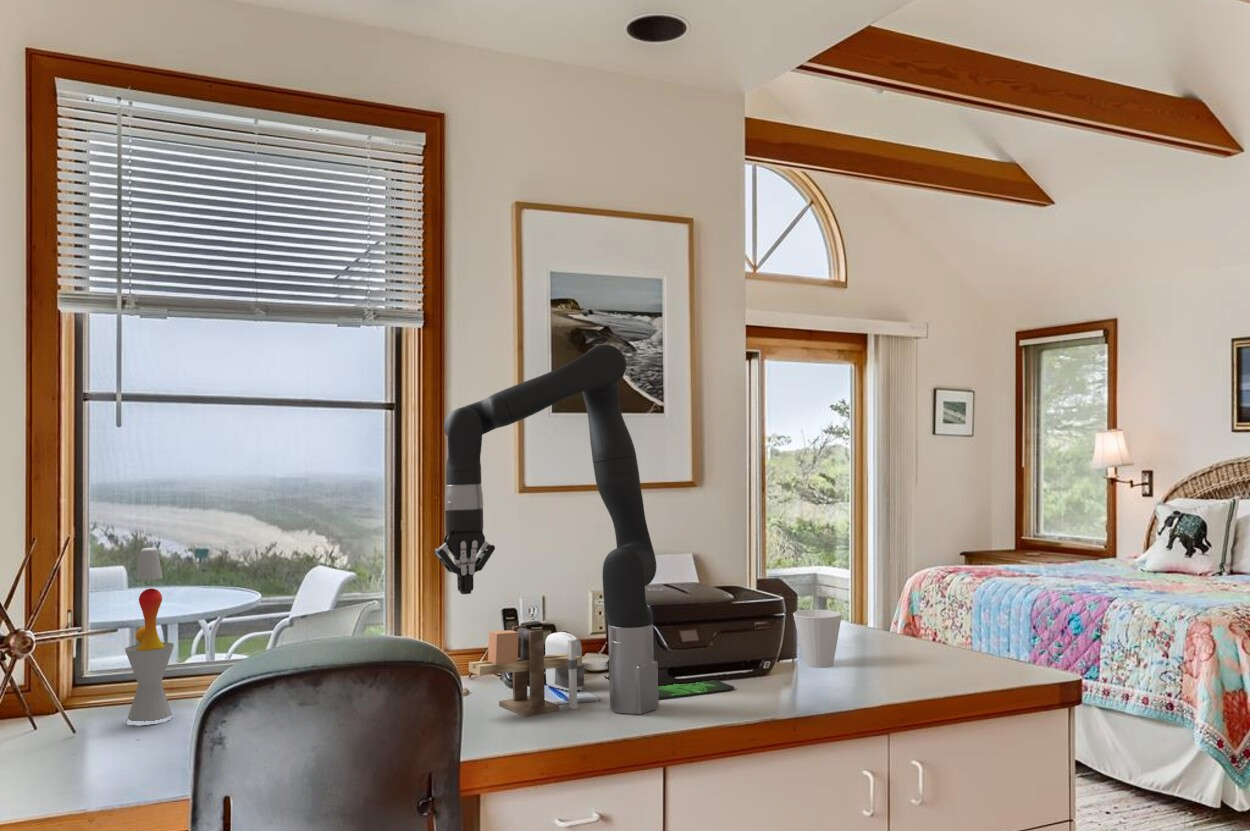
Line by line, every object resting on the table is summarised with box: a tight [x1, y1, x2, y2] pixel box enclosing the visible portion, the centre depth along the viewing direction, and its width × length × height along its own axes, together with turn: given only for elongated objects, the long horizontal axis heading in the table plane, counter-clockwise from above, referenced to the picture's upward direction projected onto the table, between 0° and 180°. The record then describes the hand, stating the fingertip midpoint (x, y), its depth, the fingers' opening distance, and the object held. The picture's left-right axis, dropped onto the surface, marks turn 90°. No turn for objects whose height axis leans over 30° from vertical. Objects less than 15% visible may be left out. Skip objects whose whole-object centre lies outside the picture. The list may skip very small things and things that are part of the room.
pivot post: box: [498, 624, 560, 717], centre depth 205 cm, size 8×11×16 cm
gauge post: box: [567, 639, 578, 710], centre depth 204 cm, size 2×2×14 cm
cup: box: [792, 609, 843, 669], centre depth 240 cm, size 12×12×12 cm
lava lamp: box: [124, 547, 175, 722], centre depth 202 cm, size 9×9×35 cm
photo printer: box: [544, 631, 584, 692], centre depth 222 cm, size 10×4×12 cm, turn 39°
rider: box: [487, 629, 519, 664], centre depth 202 cm, size 5×3×7 cm
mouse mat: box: [603, 675, 735, 701], centre depth 224 cm, size 27×22×1 cm
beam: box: [468, 627, 585, 688], centre depth 205 cm, size 25×6×12 cm, turn 125°
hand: (465, 593), depth 198 cm, fingers closed
